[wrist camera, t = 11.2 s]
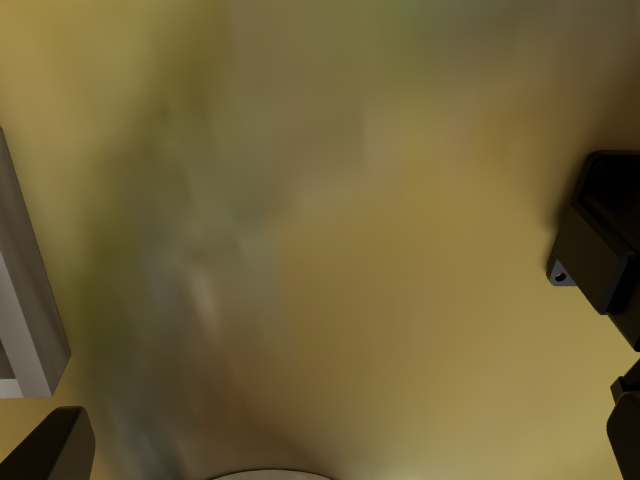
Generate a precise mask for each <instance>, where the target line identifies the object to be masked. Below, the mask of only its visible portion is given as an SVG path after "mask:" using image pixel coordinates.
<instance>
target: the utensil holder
mask: <svg viewBox="0 0 640 480" xmlns="http://www.w3.org/2000/svg"><path fill="white" fill-rule="evenodd" d="M213 480H331V479H328V478H326V477H323V476H319V475H316V474H311V473H305V472H298V471H288V470H258V471H247V472H241V473H236V474H231V475H226V476H223V477H219V478H216V479H213Z"/></svg>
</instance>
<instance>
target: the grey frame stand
mask: <svg viewBox="0 0 640 480" xmlns="http://www.w3.org/2000/svg"><path fill="white" fill-rule="evenodd" d="M70 356H71V354H70V350H69V347H68V344H67V341H66V337H65V334H64V331H63V328H62V324H61V321H60V318H59V314H58V311H57V308H56V305H55V301H54V298H53V295H52V292H51V288H50V285H49V282H48V279H47V275H46V272H45V269H44V265H43V262H42V259H41V256H40V252H39V249H38V246H37V243H36V239H35V236H34V233H33V229H32V226H31V223H30V220H29V216H28V213H27V210H26V207H25V203H24V200H23V197H22V193H21V190H20V187H19V184H18V180H17V177H16V174H15V171H14V167H13V164H12V161H11V158H10V154H9V151H8V148H7V144H6V141H5V138H4V135H3V131H2V129H0V398H39V397H53V395H54V392H55V390H56V388H57V386H58V383H59V381H60V379H61V377H62V374H63V372H64V370H65V368H66V365H67V363H68V361H69V359H70Z"/></svg>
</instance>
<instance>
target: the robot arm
mask: <svg viewBox="0 0 640 480" xmlns="http://www.w3.org/2000/svg"><path fill="white" fill-rule="evenodd" d="M600 161H603V163H602V165H600V166H599V167H596V165H597V164H598V163H599V162H600ZM552 253H553V255H552V258H551V261H550V263H549V266H548V269H547V272H546V276H547V279H548V280H549V281H550V283H551V284H552V285H554V286H578V287H579V289H580V290H581V291H582V293H583V294H584V295H585V297H586V298H587V299H588V301H589V302H590V303H591V305H592V306H593V307H594V309H595V310H596V311H597V312H598V313H599V314H600V315H608V317H609V318H610V319H611V321H612V322H613V323H614V324H615V326H616V327H617V328H618V330H619V331H620V332H621V334H622V335H623V336H624V337H625V339H626V340H627V341H628V343H629V344H630V345H631V347H632V348H633V349H634V350H635V351H636V352H640V151H618V150H600V151H595V152H594V153H592V154H590V155H589V156H588V157H587V159H586V161H585V163H584V166H583V169H582V172H581V175H580V177H579V180H578V183H577V186H576V189H575V192H574V195H573V197H572V200H571V202H570V203H569V204H568V207H567V209H566V212H565V215H564V218H563V221H562V224H561V227H560V230H559V233H558V235H557V238H556V241H555V244H554V247H553V250H552ZM560 273H562V274H561V275H559V276H557V275H558V274H560ZM610 388H611V392H612V395H613V398H614V402H615V407H614V409H613V411H612V413H611V415H610V416H609V418H608V421H607V425H606V426H607V435H608V438H609V441H610V444H611V446H612V449H613V452H614V455H615V457H616V460H617V463H618V466H619V469H620V471H621V474H622V477H623V480H640V358H639V359H638V361H637V362H636V363H635V364H634V365H633V366H632V367H631V368H630V369H629V371H628V372H627V373H626V374H625V375H624V376H619V377H618V378H617V380H616V381H615V382H614V383H613V384H612V385H611V386H610ZM94 454H95V436H94V433H93V430H92V426H91V423H90V420H89V417H88V414H87V411H86V409H85V408H84V407H82V406H62V407H58V408H56V409H55V410H53V411H52V412H51V413H50V414H49V415H48V416H47V417H46V418H45V419H44V420H43V421H42V422H41V423H40V424H39V425H38V426H37V427H36V428H35V429H34V430H33V431H32V432H31V433H30V434H29V435H28V436H27V437H26V438H25V439H24V440H23V441H22V442H21V443H20V444H19V445H18V446H17V447H16V448H15V449H14V450H13V451H12V452H11V453H10V454H9V455H8V456H7V457H6V458H5V459H4V460H3V461H2V462H1V463H0V480H89V479H90V474H91V469H92V464H93V459H94Z"/></svg>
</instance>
